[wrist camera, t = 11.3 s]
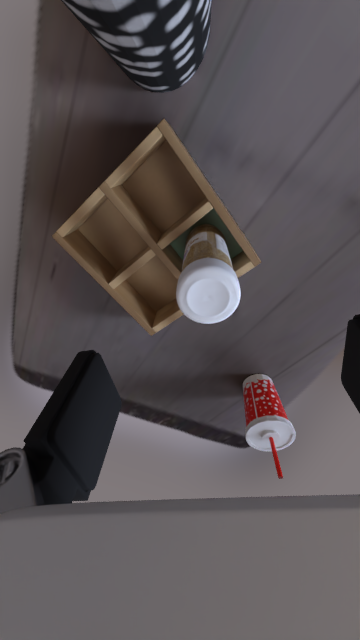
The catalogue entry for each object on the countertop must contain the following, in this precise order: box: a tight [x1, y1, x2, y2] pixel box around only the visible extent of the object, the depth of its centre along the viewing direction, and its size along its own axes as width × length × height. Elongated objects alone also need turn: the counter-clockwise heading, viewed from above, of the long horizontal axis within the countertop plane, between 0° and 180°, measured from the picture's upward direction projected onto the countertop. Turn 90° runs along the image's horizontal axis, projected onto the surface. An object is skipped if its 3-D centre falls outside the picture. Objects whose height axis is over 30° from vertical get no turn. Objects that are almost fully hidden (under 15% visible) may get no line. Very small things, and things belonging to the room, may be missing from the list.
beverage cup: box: [243, 374, 296, 479], centre depth 35 cm, size 6×6×14 cm
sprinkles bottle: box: [176, 224, 241, 324], centre depth 24 cm, size 5×5×14 cm
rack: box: [52, 119, 261, 336], centre depth 29 cm, size 15×15×5 cm
